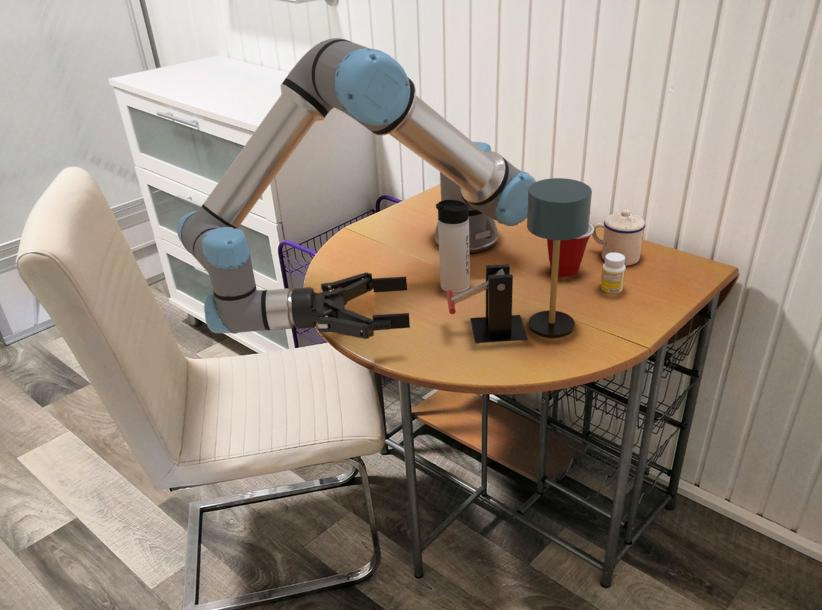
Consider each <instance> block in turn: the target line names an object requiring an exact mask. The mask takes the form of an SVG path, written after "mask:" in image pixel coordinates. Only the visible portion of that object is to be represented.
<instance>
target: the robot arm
mask: <svg viewBox="0 0 822 610" xmlns="http://www.w3.org/2000/svg"><path fill="white" fill-rule="evenodd" d="M279 86H280V96H279V97H278V98H277V100H276V101H275V103H274V104H273V105H272V107H271V108H270V110H269V111H268V112H267V114H266V115H265V117H264V118H263V119H262V121H261V122H260V124H259V125H258V126H257V127H256V129H255V131H254V132H253V134H252V135H251V136H250V137H249V138H248V141H246V143H245V145H244V146H243V147H242V149H241V150H240V152H239V153H238V155H237V156H236V157H235V158H234V160H233V162H232V163H231V165H230V166H229V167H228V168H227V169H226V171H225V173H224V174H223V176H222V177H221V179H219V181H218V182H217V184H216V185H215V187H214V188H213V189H212V191H211V192H210V194H209V195H208V196H207V198H206V199H205V201H204V203H203V204H202V205H201V206H200V207H199V209H198V210H193V211H190V212H188V213H186V214H183V216H182V217H181V218H180V219H179V221H178V223H177V225H176V226H177V227H176V234H177V238H178V239H179V241H180V243H181V244H182V246H183V247H184V249H185V250H186V251H187V253H189V254H191V256H193V258H194V259H195V260H196V261H197V262H198V263H199V265H201V267H202V268H203V269H204V270H205V271H206V272H207V274H208V277H209V280H210V283H211V287H212V293H208V294H207V295H206V296H205V298H204V302H203V309H204V310H203V311H204V319H205V323H206V325H207V328H208V329H209V330H210V332H212V333H214V334H232V335H235V334H239V333H240V334H241V333H251V332H263V331H277V330H279V331H283V330H292V329H293V328H294V327H295V328H297V330H298V329H313V328H316V326H317V331H318V332H320V333H333V334H334V333H335V334H339V335H344V336H349V337H354V338H359V339H364V340H368V339H370V338H371V337H374V335H375V334H374V331H388V330H398V329H410V328H411V324H410V322H411V321H410V312H399V313H387V314H386V313H385V314H372V318H371V317H368V316H366V315H363V314H360V313H358V312H355V311H353V310H350V309H347V308H346V307H345V306H346V305H347V304H348V302H350V301H352V300H354V299H357V298H358V297H360V296H362V295H365V294H367V293H369V292H371V291H373V293H389V292H403V291H404V292H405V291H408V284H407V283H408V281H407V276H389V277H376V278H375V277H374V278H373V274H372V273H370V272H366V271H365V272H362V273H359V274H355V275H352V276H348V277H345V278H342V279H339V280H336V281H331V282H323V283H321V284H320V290H321V292H315V290H314V288H313V287H311V286H307V287H306V286H305V287H295V288H293V289H292V290H291V289H290V288H276V289H257V283H256V278H255V273H254V269H253V263H252V257H251V248H250V246H249V243H248V240H247V236H246V234H245V232H243V230H241V229H239V228H240V226H241V224H242V223H243V221H244V220H245V219H246V218H247V216H248V215H249V214H250V212H251V211H252V210H253V208H254V207H255V206H256V204H257V203H258V201H259V200H260V198H261V196H262V195H263V194H264V193H265V192H266V190H267V189H268V187H270V184H271V183H272V182H273V180H274V179H275V178H276V176H277V175H278V174H279V172H280V171H281V170H282V168H283V166H284V165H285V164H286V162H287V161H288V160H289V158H290V157H291V156H292V155H293V153H294V152H295V150H296V148H297V147H298V146H299V145H300V144H301V142H302V141H303V140H304V138H305V136H306V135H307V134H308V132H309V131H310V130H311V128H312V126H313V125H314V124H315V123H316V122H320V121H324V120H325V118H326V117H327V116H328V114H329V113H330V112H331V111H332V110H333V109H336V110H339V111H341V112H342V113H344V114H345V115H347V116H349V117H350V118H352V119H353V120H355V121H356V122H358V124H359V125H362V127H364V128H366V129H367V130H368V131H369V132H371V133H372V134H374V135H376V136H380V137H381V136H386V135H389V136H391V137H392V138H394V139H395V140H396V141H397V142H398V143H401V144H402V145H403V146H404V147H406V148H407V149H409V150H410V151H411V152H413V153H414V154H415V155H417V156H418V157H419V158H421V159H422V160H423V161H425V162H426V163H428V164H429V165H430V166H432V167H433V168H434V169H435V170H437V171H438V172H439V182H440V183H439V184H440V201H443V200H457V201H461V202H463V203H464V204H466V205H467V206H468V212H469V213H468V215H469V254H477V253H482V252H485V251H487V250H490V249H492V248H493V247H495V246H496V245H497V244H498V242H499V230H498V227H497V224H496V222H497V223H498V224H499V225H505V226H506V227H515V226H517V225H519V224H521V223H523V222H525V220H527V212H528V189H529V187H530V185H531V184H533V183H535V182H537V180H536V179H535V178H534V176H532V175H531V174H530V173H529V172H527V171H523V170H521V169H519V168H517V167H516V166H515V165H513V164H512V163H510V162H509V161H508V159H506V158H505V157H503V155H501V153H498V152H497V151H492V146H491V145H490V144H488V143H487V142H482V141H473V140H471V139H470V138H469V137H467V136H466V135H465V134H464V133H463V132H462V131H460V130H459V129H458V128H457V127H455V126H454V125H453V124H452V123H451V122H450V121H448V120H447V119H445V118H444V117H443V116H442V115H441V114H439V112H437V111H436V110H435V109H434V108H433V107H431V106H430V105H429V104H428V103H426V102H425V101H424V100H423V99H422V98H420V97H419V96H418V95H417V88H416V85H415V83H414V81H413V80H412V79H410V77H409V76H408V75H407V73H406V71H405V69H404V68H403V65H401V64H400V63H399V62H398V61H397V60H396V59H395V58H394V57H392V56H391V55H390V54H388V53H387V52H385V51H382V50H379V49H376V48H370V47H367V46H364V45H361V44H359V43H356V42H354V41H351V40H348V39H345V38H339V37H334V38H329V39H328V38H327V39H325V40H322V41H320V42H319V43H317V44H315V45H314V46H313V47H311V48H310V49H309V50H308V51H307V52H306V53H305V54H304V55H303V56H302V57H301V58H300V59H299V60H298V61H297V62H296V64H295V65H294V66H293V67H292V69H291V70H290V71H289V73H288V74H287V76H286V77H285V78H284V79H283V81H282V82H281V84H280V85H279ZM434 242H435V244H436V246H437V247H439V233H438V222H437V223H436V227H435V229H434Z"/></svg>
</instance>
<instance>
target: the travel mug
mask: <svg viewBox="0 0 822 610" xmlns="http://www.w3.org/2000/svg"><path fill="white" fill-rule="evenodd" d="M435 209H436V210H437V223H438V233H439V246H438V252H439V253H438V255H439V279H440V282H439V283H440V288H441V290H442V291H444V292H445V293H446V292H447V291H448V290H451V291H452V292H453V294H461V293H463V292H465V291H467V290H469V289H470V286H471V277H470V275H471V274H470V273H471V272H470V271H471V270H470V268H471V266H470V253H469V215H468V213H469V212H468V206H467V205H466V204H464V203H463V202H461V201H457V200H443V201H441V200H440V201H439V202H437V203H436V204H435Z"/></svg>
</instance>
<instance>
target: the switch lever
mask: <svg viewBox="0 0 822 610" xmlns="http://www.w3.org/2000/svg"><path fill="white" fill-rule="evenodd" d="M491 275H505V273H504V271H503V269H500V270H498V271H496V272H494V273H492V274H490V275H489V276H491ZM486 289H488V281H486V280H485V281H484V282H482V283H480V284H478V285H476V286H474V287H473V286H472V287H471V288H468V289H467V290H466V291H464V292H460V293H457V295H454V293H453V292H452V291H451V290H448V291H447V292H446V291H445V294H446V300H447V306H448V313H449V314H450V315H454V314H456V312H457V310H456V304H458V303H460V302H462V301H465V300H467V299H469V298H471V297H473V296H475V295H477V294H480V293H481V292H484V291H486Z"/></svg>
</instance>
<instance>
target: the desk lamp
mask: <svg viewBox="0 0 822 610" xmlns="http://www.w3.org/2000/svg"><path fill="white" fill-rule="evenodd" d="M592 193H593V190H592V187H591V186H590V185H589V184H586V183H585V182H582V181H581V180H576V179H572V178H565V177H564V178H563V177H553V178H545V179H541V180H536V182H535V183H533V184H531V185H530V187H529V189H528V212H527V218H526V228H527V231H528V232H529V233H531V234H532V235H534V236H535V237H538V238H541V239H546V240H547V239H550V240H553V257H552V273H551V276H550V293H549V307H548V308H549V309H548V310H541V311H538V312H535V313H534V314H532V315H531V316H530V317H529V319H528V328H529V330H530V331H531V332H532V333H533V334H535V335H537V336H539V337H542V338H547V339H560V338H564V337H567V336H569V335H571V334H572V333H573V332H574V330H575V328H576V322H575V319H574V318H573V317H572V316H571V315H569V314H568V313H565V312H563V311H559V310H556V309H557V296H558V295H557V294H558V293H557V292H558V280H559V276H558V266H559V250H560V240H570V239H575V238H578V237H581V236H583V235H584V234H586V233H587V231H588V229H589V223H590V218H591V217H590V216H591V207H592V206H591V205H592Z"/></svg>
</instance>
